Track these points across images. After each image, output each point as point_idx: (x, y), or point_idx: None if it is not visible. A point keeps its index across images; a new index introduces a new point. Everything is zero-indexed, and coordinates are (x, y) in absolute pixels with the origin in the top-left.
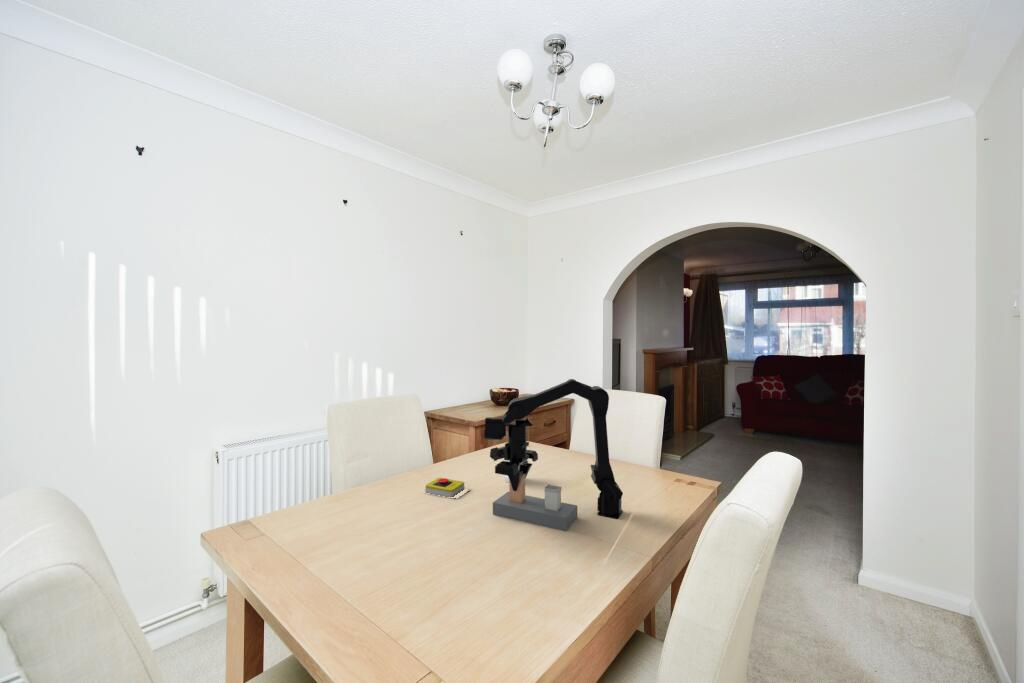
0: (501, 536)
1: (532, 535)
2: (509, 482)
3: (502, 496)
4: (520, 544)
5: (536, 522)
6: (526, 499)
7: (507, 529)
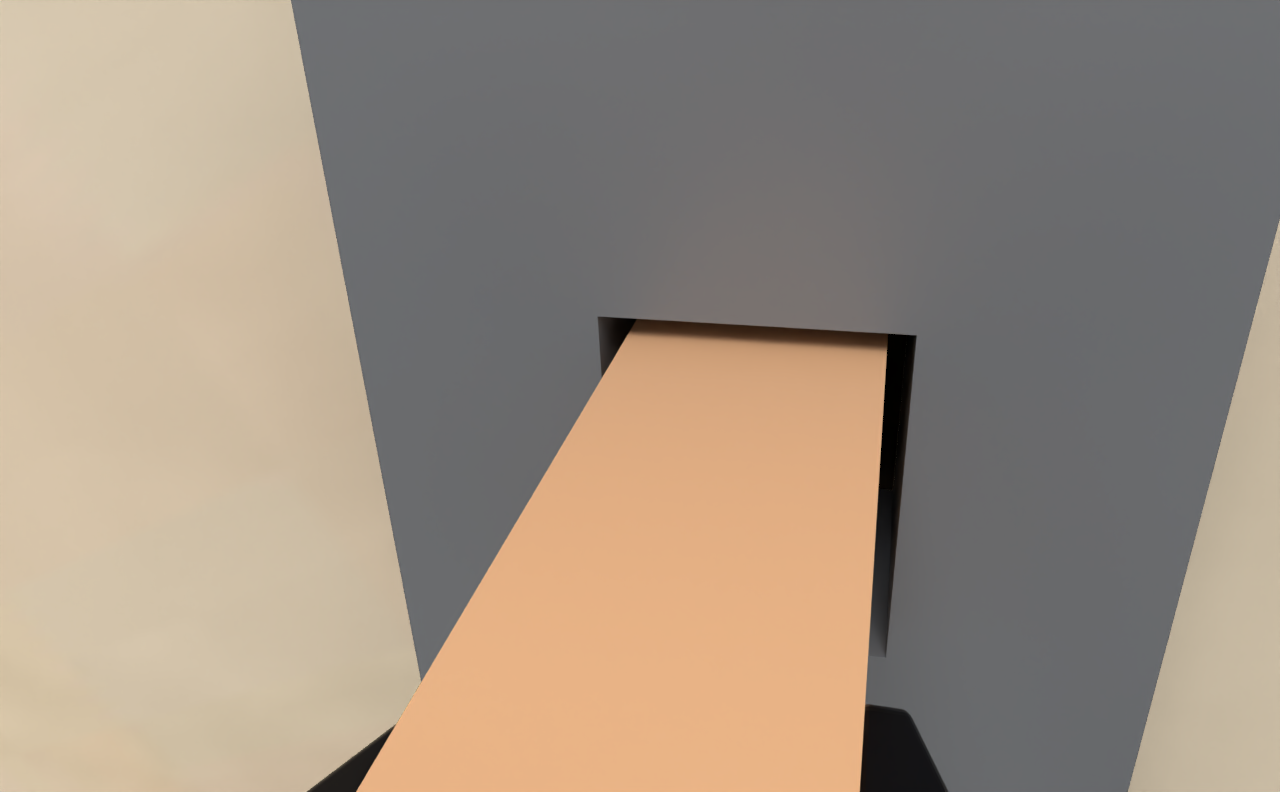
0: (19, 435)
1: (289, 729)
2: (415, 698)
3: (817, 10)
4: (57, 669)
5: None
6: (901, 655)
7: (203, 432)
